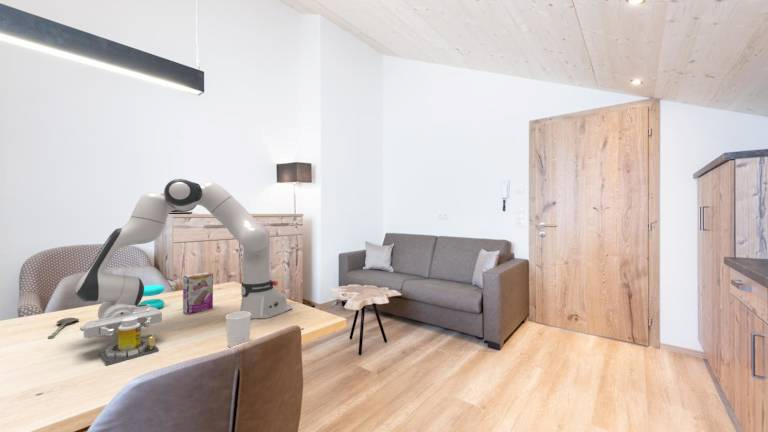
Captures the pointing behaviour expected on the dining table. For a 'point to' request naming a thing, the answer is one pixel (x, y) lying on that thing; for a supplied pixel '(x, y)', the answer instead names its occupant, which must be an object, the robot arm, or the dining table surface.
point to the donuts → (152, 291)
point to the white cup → (238, 328)
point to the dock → (128, 351)
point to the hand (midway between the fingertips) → (129, 328)
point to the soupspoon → (63, 322)
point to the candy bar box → (197, 292)
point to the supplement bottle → (128, 334)
